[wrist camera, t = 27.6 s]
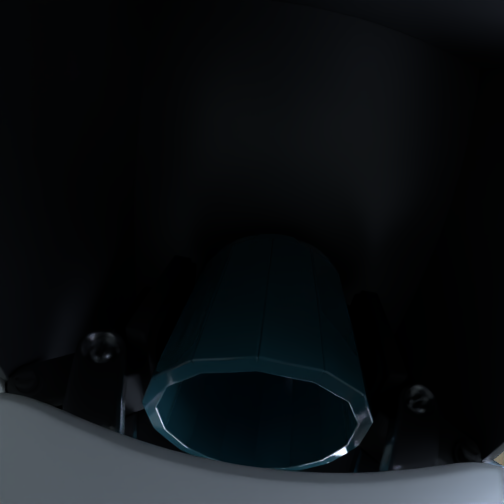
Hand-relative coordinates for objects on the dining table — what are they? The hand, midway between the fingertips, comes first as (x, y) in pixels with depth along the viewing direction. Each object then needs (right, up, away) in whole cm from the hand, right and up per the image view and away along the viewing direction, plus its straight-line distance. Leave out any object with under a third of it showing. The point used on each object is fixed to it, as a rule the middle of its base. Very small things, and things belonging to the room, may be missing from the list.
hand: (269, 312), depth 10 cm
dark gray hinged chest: (+1, +4, +1) cm, 4 cm away
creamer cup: (0, 0, +1) cm, 1 cm away
